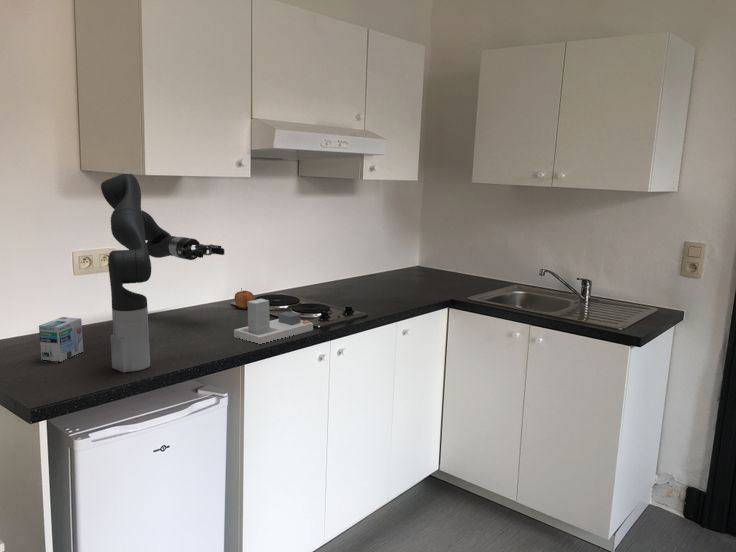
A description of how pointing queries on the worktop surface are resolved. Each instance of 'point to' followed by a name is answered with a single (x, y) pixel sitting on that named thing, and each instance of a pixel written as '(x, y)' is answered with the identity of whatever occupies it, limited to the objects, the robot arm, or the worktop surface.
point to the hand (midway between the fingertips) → (213, 253)
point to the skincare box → (258, 317)
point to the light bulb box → (61, 338)
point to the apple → (243, 298)
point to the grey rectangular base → (277, 328)
